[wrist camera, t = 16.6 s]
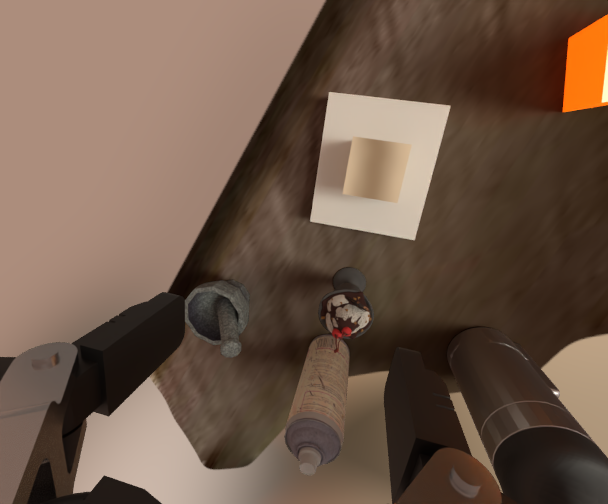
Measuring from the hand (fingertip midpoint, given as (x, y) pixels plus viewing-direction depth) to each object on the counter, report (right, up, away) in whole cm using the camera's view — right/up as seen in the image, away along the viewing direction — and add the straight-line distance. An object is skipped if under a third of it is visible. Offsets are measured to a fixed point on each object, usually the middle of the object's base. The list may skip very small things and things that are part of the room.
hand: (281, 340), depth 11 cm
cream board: (+10, +15, +29) cm, 34 cm away
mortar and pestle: (-11, -5, +39) cm, 41 cm away
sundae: (+8, -1, +34) cm, 35 cm away
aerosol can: (+5, -13, +39) cm, 41 cm away
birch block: (+10, +14, +26) cm, 31 cm away
